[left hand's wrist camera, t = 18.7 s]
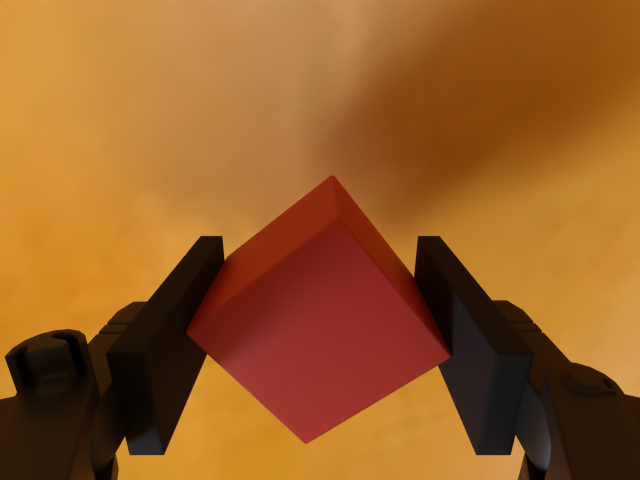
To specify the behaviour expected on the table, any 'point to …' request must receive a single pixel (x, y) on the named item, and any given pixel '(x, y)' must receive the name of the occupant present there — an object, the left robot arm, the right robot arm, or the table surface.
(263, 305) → the block
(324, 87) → the table surface
